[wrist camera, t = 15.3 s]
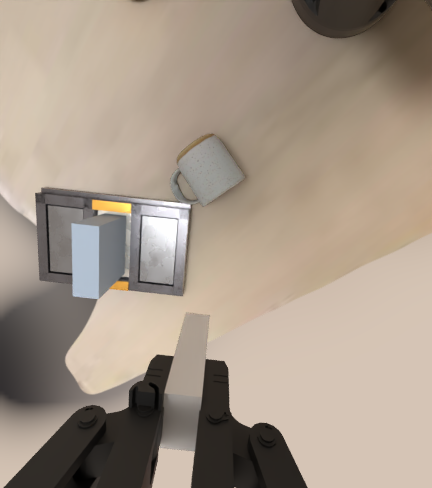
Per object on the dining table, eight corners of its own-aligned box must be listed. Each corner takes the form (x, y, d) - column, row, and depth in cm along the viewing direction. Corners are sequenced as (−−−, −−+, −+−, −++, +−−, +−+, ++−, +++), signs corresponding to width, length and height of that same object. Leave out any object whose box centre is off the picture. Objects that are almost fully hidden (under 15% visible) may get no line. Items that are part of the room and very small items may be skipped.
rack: (45, 187, 44) (33, 188, 42) (191, 203, 45) (189, 205, 42) (49, 279, 48) (38, 285, 46) (183, 293, 48) (181, 300, 46)
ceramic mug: (214, 133, 42) (212, 124, 35) (244, 178, 43) (248, 178, 36) (161, 174, 44) (148, 174, 36) (191, 216, 45) (184, 224, 38)
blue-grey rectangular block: (104, 213, 44) (71, 223, 34) (126, 215, 44) (99, 226, 34) (104, 271, 46) (72, 296, 37) (124, 273, 46) (98, 299, 37)
